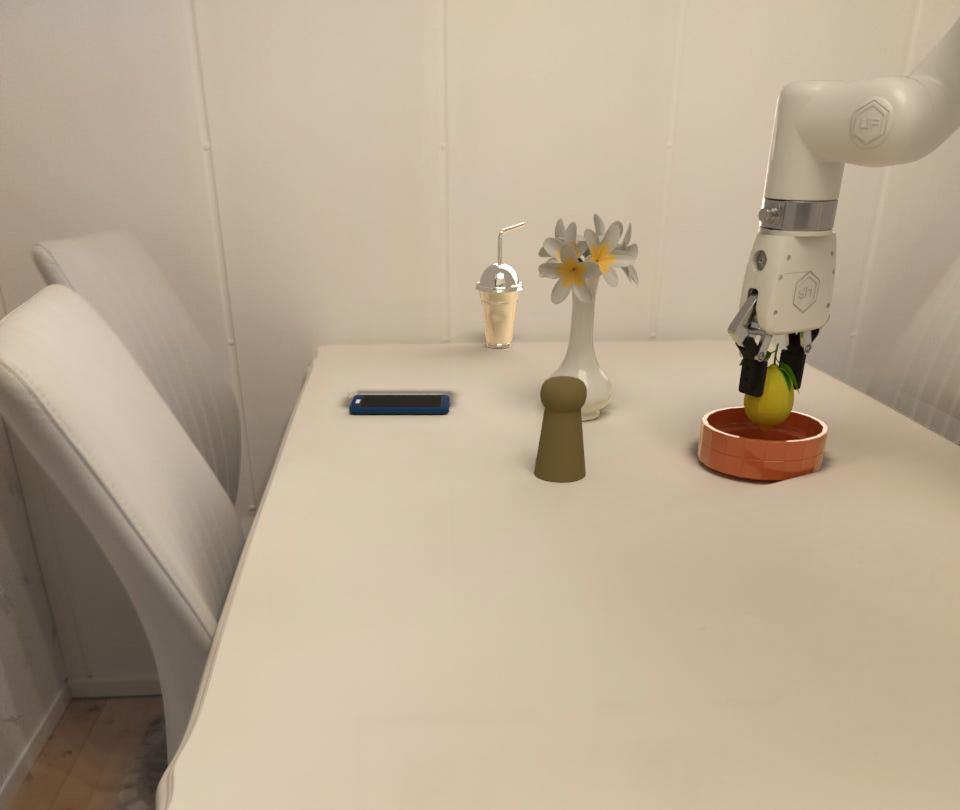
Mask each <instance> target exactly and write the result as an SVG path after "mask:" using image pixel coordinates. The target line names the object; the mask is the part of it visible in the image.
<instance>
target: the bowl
mask: <svg viewBox="0 0 960 810" xmlns="http://www.w3.org/2000/svg"><path fill="white" fill-rule="evenodd" d="M828 433H829V426H828V425H827V424H826V423H825V422H824V421H823V420H821V419H819V418H817V417H816V416H813V415H810V414H807V413H803V412H800V411H796V410H791V413H790V414H789V416H788V417H787V419H786V420H785V421H784V422H782V423H780V424H778V425H775V426H772V427H770V428H769V429H768V430H767V431H762V430H761V429H760V428H759V426H758V425H757V424H755V423H754V422H752V421H751V420H750V419H749V418H748V417H747V415H746V413H745V409H744V405H742V406H730V407H722V408H718V409H714V410H710V411H709V412H707V413H705V414H704V415H703V417H702V418H701V421H700V429H699V437H698V445H697V453H696V455H697V458H698V460H699V462H700V463H702V464H703V465H704V466H706V467H707V468H710V469H712V470H714V471H717V472H719V473H723V474H725V475H728V476H731V477H735V478H740V479H745V480H751V481H761V482H779V481H780V482H781V481H787V480H790V479H796V478H798V477H802V476H806V475H811V474H813V473H818V472H819V471H820V470H821V468H822V463H823V458H824V453H825V448H826V443H827V438H828Z"/></svg>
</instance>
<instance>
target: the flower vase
mask: <svg viewBox="0 0 960 810" xmlns="http://www.w3.org/2000/svg"><path fill="white" fill-rule="evenodd" d="M555 223H556V224H555V227H554V237H546V238H545V239H544V241H543V242H542V246H541V247H540V249H539V250H538V256H539V257H540V258H549V259H547V260H546V261H545V262H542V263H541V264H539V266H538V277H539V278H542V279H543V278H547V279H551V280H557V281H556V282H555V284H554V286H553V287H552V289H551V293H550V301H551V303H552V304H554V305H559V304H561V303H563V302H564V301H565V300H566V299H567V297H568V296H569V295H570V293H571V302H572V303H571V305H572V306H571V317H570V327H569V328H570V331H569V338H568V344H567V349H566V352H565V355H564V356H563V357H564V358H563V359H562V361H561V364H560V365H559V366H558V368H556V369H555V370H554V371H553V372H552V373H551V375H550V376H549V378H551V377H557V376H570V377H575V378H578V379H580V380H582V381H583V382H584V384H585V386H586V389H587V397H586V401H585V404H584V405H583V407H582V408H581V416H582V422H585V421H592V420H596V419H598V418H599V416H600V415H601V411H600V410H601V409H603V408H605V407H606V406H607V405H608V404H609V403H610V401H611V399H612V397H613V395H614V388H613V384H612V382H611V380H610V377H609V376H608V375H607V373H606V372H605V371H604V370H603V369H602V367H601V366H600V364H599V361H598V358H597V354H596V350H595V332H594V331H595V308H596V306H595V305H596V299H597V298H596V296H597V293H598V287H599V284H600V280H601V277H603V279H604V280H605V282H606V284H607V285H609V287H611V288H616V287H617V286H618V284H619V276H618V272H617V270H616V269H615V268H620V269H621V270H622V271H623V272H624V275H625V276H626V277H627V280H628V281H629V282H630V284H631V283H633V282H634V284H635V285H638V286H639V277H638V274H637V271H636V268H635V267H634V264H635V262H636V260H637V258H638V255H639V246H638V243H631V244H630V242H631V239H632V228H633V227H632V222H629V223H628V226H627V229H626V232H625V234H624V236H623V239H622V242H620V240H621V237H622V235H623V233H624V225H623V223H622V222H621V221H620V220H615V221H613V222H612V223H611V224H610V225H609V226H608V227H607V229H606V226H605V223H604V220H603V219H602V217H601V216H600V215H599V214H597V213H593V224H594V229H595V231H594V230H593V229H591V228H585V229H584V231H583V235H582V234H578V226H577V223H576V222H575V220H571V222H570V223H569V224H568V226H567V227H566V226H565V222H564V219H563V218H561V217H560V218H559V219H557V221H556V222H555ZM619 242H620V243H619ZM582 256H583V257H584V258H581V257H582ZM549 378H548V379H549Z"/></svg>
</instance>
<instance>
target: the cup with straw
mask: <svg viewBox="0 0 960 810" xmlns="http://www.w3.org/2000/svg"><path fill="white" fill-rule="evenodd" d="M524 227H526V224H525V222H520V223H517V224H514V225H511V226H508V227H505V228H502V229H500V230H499V232H498V234H497V262H496V263H492V264H490V265H488V266H487V267H486V268H485V269H484V270H483V271H482V273H481V276H480V278H479V281H477V282H475V287H474V289H475V290H476V291H479V300H480V304H481V308H482V318H483V325H484V326H483V327H484V329H483V330H484V338H485V340H486V341H485V342H486V344H485V346H486V347H488V348H491V349H507V348H511V347H512V340H513V337H514V336H513V335H514V327H515V320H516V311H517V305H518V302H519V297H520V291H523V290H524V283H523V282H522V281H520V278H519V275H518V273H517V271H516V270H515V268H513V267H512V266H511V265H509V264H507V263H502V262H503V261H502V259H503V252H502V251H503V235H504V234H506V233H509V232H512V231H515V230H518V229H521V228H524Z"/></svg>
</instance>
